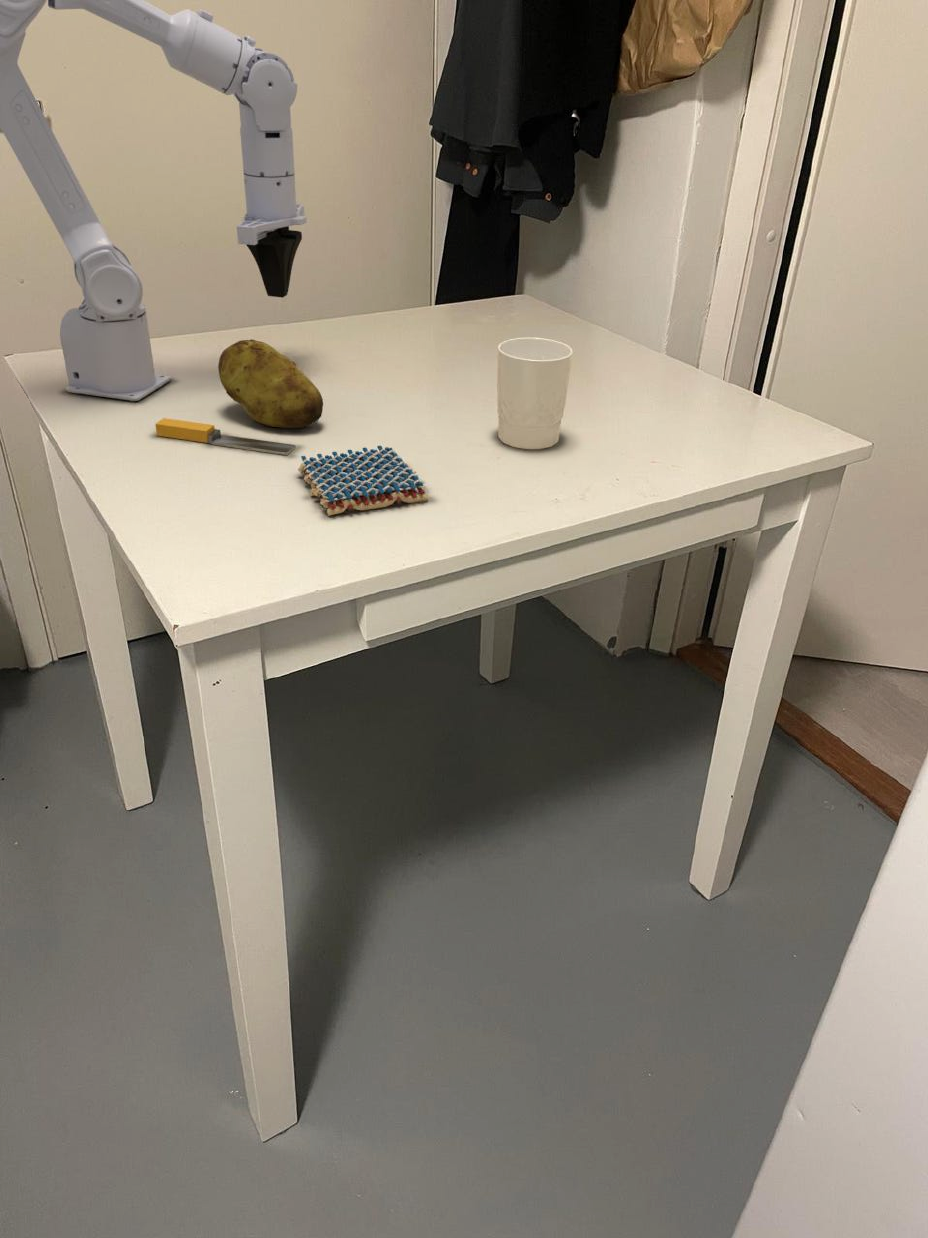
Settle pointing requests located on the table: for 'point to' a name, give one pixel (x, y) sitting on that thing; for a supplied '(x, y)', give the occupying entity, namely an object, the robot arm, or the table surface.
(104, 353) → the robot arm
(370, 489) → the woven mat
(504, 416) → the white cup
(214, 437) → the knife
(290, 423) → the potato
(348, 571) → the table surface
